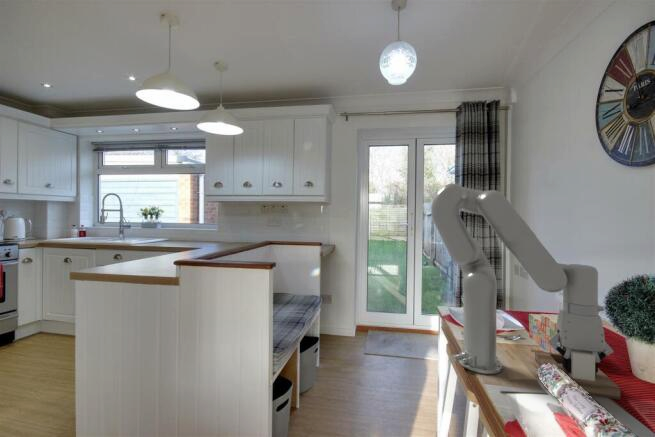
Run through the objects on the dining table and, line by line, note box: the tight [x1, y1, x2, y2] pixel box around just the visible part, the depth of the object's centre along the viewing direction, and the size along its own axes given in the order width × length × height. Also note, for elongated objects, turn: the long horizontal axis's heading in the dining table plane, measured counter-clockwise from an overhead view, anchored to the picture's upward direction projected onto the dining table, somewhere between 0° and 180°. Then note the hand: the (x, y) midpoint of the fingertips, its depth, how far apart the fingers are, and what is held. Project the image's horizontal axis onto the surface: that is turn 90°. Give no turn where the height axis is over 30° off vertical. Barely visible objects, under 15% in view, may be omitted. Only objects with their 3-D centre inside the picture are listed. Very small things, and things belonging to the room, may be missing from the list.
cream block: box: [569, 349, 595, 381], centre depth 84 cm, size 5×5×7 cm
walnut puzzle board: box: [534, 350, 621, 400], centre depth 89 cm, size 18×14×3 cm
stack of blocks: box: [528, 313, 562, 354], centre depth 108 cm, size 21×6×12 cm, turn 169°
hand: (579, 371), depth 84 cm, fingers closed on cream block, 5 cm apart
